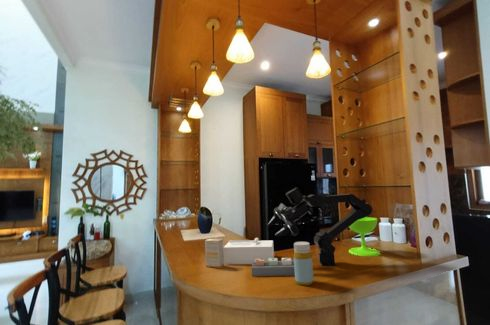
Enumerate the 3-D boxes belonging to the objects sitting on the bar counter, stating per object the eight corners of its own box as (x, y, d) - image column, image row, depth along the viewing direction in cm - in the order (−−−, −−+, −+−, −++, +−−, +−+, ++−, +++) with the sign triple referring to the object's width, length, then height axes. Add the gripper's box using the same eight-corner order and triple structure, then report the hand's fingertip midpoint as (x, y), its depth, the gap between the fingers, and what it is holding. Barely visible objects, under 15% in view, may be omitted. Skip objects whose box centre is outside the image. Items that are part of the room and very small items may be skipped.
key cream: (290, 262, 111) (290, 257, 111) (291, 264, 107) (291, 259, 107) (281, 262, 111) (281, 257, 111) (282, 265, 107) (282, 260, 108)
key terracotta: (264, 262, 112) (264, 257, 112) (264, 265, 108) (264, 260, 108) (255, 263, 112) (255, 258, 112) (255, 265, 108) (254, 260, 108)
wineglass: (343, 253, 133) (340, 219, 135) (355, 247, 144) (352, 216, 146) (374, 258, 122) (370, 221, 124) (385, 251, 132) (381, 217, 134)
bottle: (293, 280, 99) (290, 242, 100) (310, 278, 99) (307, 240, 101) (298, 286, 92) (295, 245, 94) (316, 285, 93) (313, 244, 94)
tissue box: (273, 264, 121) (271, 241, 122) (224, 264, 125) (223, 242, 126) (274, 256, 135) (272, 236, 136) (230, 256, 139) (229, 237, 140)
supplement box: (224, 265, 123) (223, 238, 124) (219, 268, 119) (218, 240, 120) (210, 263, 126) (209, 238, 128) (205, 266, 122) (204, 239, 123)
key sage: (277, 262, 111) (277, 257, 112) (277, 265, 107) (277, 260, 108) (268, 262, 112) (268, 257, 112) (268, 265, 108) (268, 260, 108)
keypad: (294, 268, 113) (293, 260, 113) (296, 275, 104) (295, 266, 104) (253, 269, 114) (252, 261, 115) (252, 276, 106) (251, 267, 106)
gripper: (282, 192, 125) (257, 209, 123) (300, 208, 107) (271, 229, 106) (291, 207, 129) (267, 225, 127) (310, 226, 112) (282, 246, 110)
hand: (271, 230), depth 118 cm, fingers open, 9 cm apart
